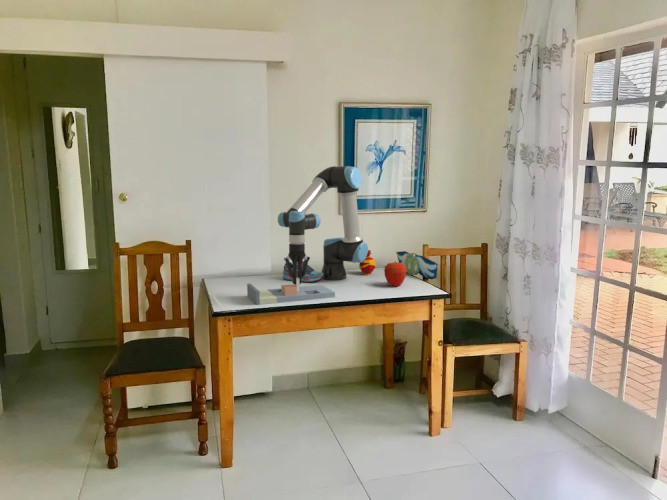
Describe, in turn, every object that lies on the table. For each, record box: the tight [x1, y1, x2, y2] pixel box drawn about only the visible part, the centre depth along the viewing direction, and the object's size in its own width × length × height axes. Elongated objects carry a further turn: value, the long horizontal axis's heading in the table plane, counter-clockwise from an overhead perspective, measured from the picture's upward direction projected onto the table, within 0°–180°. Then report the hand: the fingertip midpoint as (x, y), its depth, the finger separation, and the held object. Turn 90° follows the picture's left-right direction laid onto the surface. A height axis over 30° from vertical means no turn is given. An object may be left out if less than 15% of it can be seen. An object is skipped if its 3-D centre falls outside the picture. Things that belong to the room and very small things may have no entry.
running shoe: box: [282, 260, 324, 284], centre depth 303 cm, size 10×25×12 cm, turn 70°
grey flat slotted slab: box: [246, 282, 336, 306], centre depth 266 cm, size 40×18×6 cm, turn 113°
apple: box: [383, 260, 407, 288], centre depth 290 cm, size 12×12×14 cm
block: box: [280, 283, 297, 296], centre depth 262 cm, size 6×6×4 cm
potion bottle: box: [358, 249, 377, 276], centre depth 319 cm, size 10×10×15 cm
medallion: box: [396, 250, 439, 280], centre depth 317 cm, size 45×5×14 cm, turn 24°
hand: (297, 290), depth 262 cm, fingers closed
